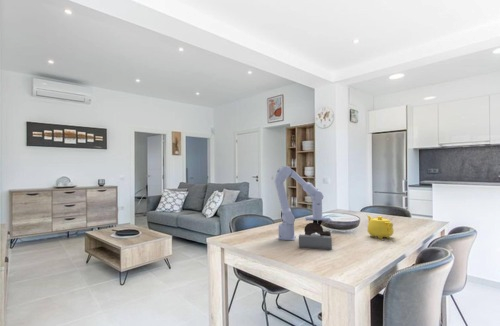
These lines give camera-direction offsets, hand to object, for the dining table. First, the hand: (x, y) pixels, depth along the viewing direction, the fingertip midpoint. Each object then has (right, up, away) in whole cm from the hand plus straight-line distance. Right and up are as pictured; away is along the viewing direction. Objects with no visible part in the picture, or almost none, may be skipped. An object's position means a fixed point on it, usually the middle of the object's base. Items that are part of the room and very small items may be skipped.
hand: (317, 232), depth 169 cm
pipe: (-2, -3, -9) cm, 10 cm away
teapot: (+38, -3, -1) cm, 38 cm away
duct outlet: (-7, -3, -21) cm, 22 cm away
